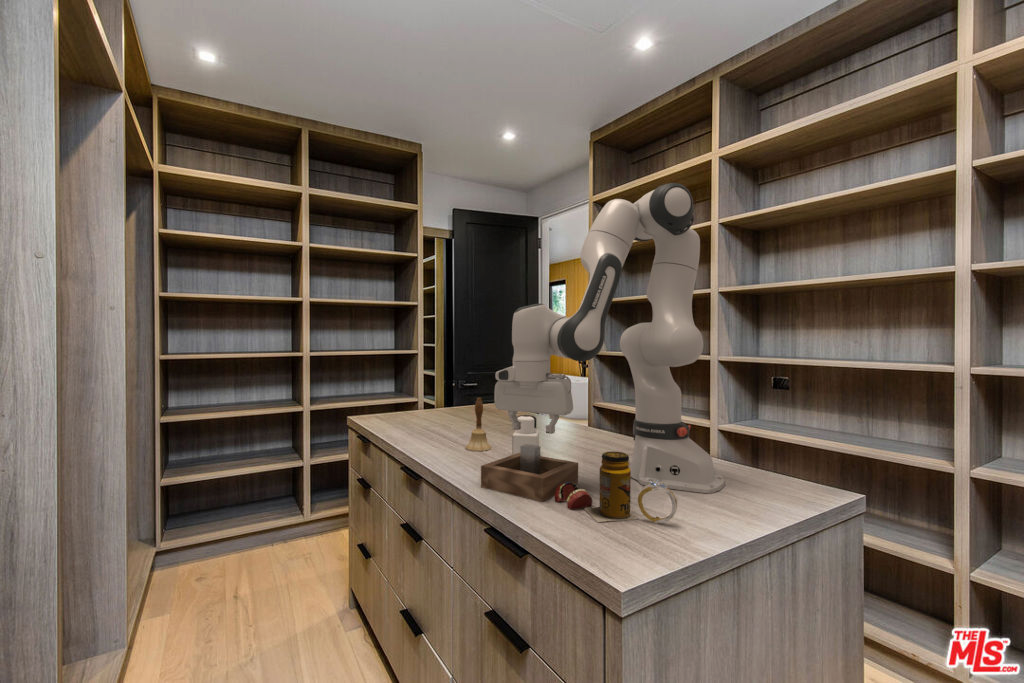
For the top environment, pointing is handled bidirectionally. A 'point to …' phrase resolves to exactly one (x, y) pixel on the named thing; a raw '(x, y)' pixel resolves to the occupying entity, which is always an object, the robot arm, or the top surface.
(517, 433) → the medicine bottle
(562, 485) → the dentures model
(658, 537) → the top surface
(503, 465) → the open wooden box
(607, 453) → the condiment
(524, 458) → the stepped grey peg
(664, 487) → the bracelet
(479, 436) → the hand bell
